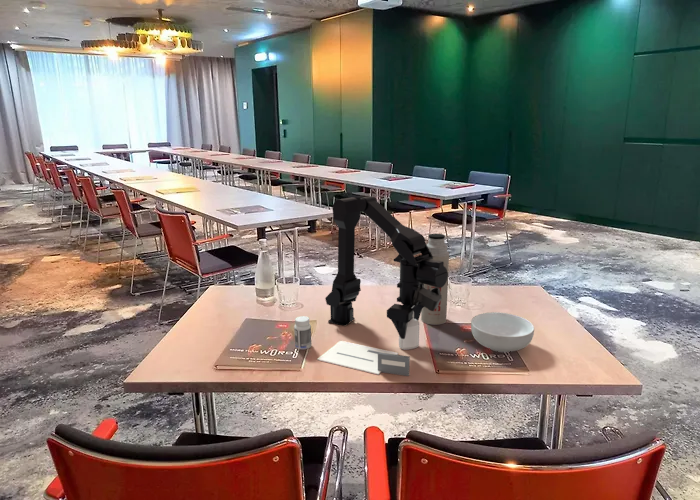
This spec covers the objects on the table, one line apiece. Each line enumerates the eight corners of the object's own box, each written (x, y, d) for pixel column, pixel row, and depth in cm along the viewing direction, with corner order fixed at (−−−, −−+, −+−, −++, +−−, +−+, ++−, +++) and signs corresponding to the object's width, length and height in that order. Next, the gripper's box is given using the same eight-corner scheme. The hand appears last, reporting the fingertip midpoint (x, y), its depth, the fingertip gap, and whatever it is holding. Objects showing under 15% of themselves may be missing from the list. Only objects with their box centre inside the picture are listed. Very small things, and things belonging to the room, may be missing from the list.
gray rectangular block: (377, 371, 128) (377, 353, 127) (378, 370, 129) (378, 352, 128) (408, 376, 126) (409, 358, 124) (409, 374, 126) (409, 356, 125)
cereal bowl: (459, 347, 141) (460, 324, 139) (486, 329, 153) (487, 307, 152) (517, 366, 130) (519, 341, 129) (541, 344, 143) (543, 321, 141)
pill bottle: (314, 343, 144) (313, 316, 142) (307, 350, 140) (306, 322, 138) (299, 341, 146) (298, 314, 144) (292, 348, 141) (291, 320, 139)
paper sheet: (317, 360, 135) (317, 358, 134) (340, 341, 146) (340, 340, 146) (378, 374, 126) (378, 373, 126) (398, 353, 138) (398, 352, 138)
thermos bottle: (443, 326, 156) (447, 238, 149) (418, 322, 159) (420, 236, 152) (448, 317, 163) (452, 233, 156) (424, 313, 166) (427, 231, 159)
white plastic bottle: (418, 350, 139) (419, 310, 136) (398, 349, 140) (399, 309, 137) (418, 344, 144) (420, 304, 141) (399, 343, 144) (399, 303, 141)
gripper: (427, 294, 125) (425, 351, 129) (449, 274, 141) (446, 325, 145) (386, 287, 130) (385, 343, 134) (411, 269, 146) (410, 319, 150)
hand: (408, 332), depth 141 cm, fingers open, 9 cm apart
